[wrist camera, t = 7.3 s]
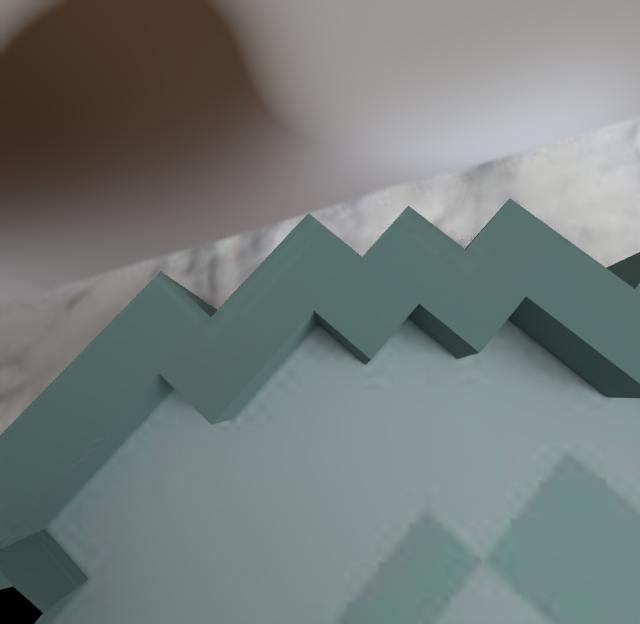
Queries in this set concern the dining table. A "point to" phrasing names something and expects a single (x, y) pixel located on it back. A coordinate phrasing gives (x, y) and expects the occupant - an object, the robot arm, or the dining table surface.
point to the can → (344, 443)
